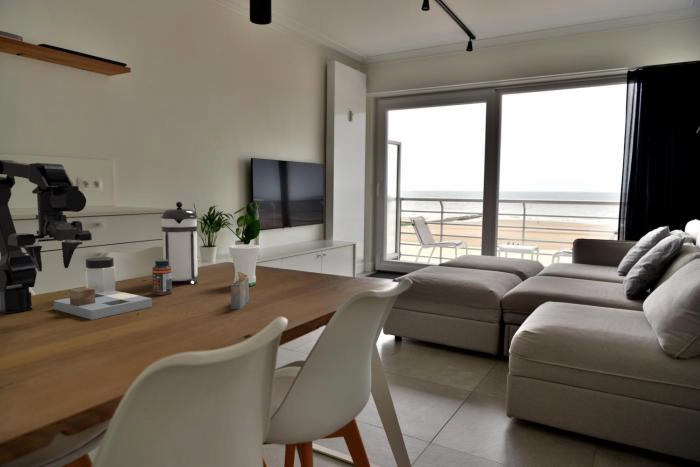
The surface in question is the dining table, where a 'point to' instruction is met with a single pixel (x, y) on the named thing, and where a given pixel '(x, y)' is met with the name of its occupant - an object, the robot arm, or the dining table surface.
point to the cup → (245, 260)
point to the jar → (100, 274)
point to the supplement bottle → (162, 277)
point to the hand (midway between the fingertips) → (53, 269)
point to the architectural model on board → (240, 292)
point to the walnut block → (82, 296)
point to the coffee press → (180, 242)
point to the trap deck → (105, 305)
